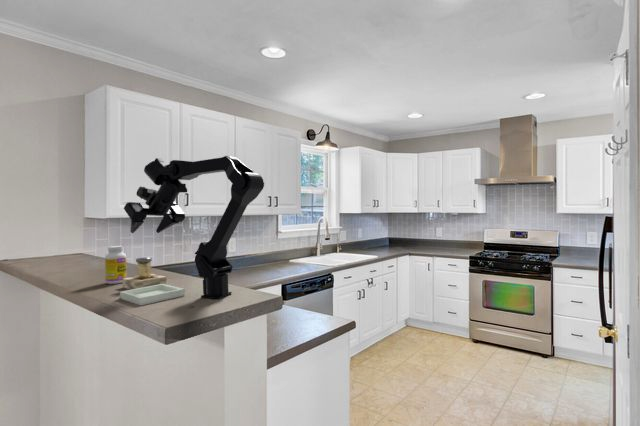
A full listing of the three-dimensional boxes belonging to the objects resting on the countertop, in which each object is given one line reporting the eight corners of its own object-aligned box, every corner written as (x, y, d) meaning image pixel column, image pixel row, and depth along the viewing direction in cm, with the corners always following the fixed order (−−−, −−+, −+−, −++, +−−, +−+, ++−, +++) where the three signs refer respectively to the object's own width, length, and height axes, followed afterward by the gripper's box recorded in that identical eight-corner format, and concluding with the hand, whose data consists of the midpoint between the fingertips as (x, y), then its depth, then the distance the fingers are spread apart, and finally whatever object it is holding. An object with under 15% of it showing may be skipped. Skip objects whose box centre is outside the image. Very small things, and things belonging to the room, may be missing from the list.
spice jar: (156, 285, 127) (154, 257, 127) (144, 288, 123) (143, 259, 122) (145, 284, 129) (143, 257, 129) (133, 287, 124) (132, 259, 124)
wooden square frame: (166, 285, 126) (166, 276, 126) (136, 291, 119) (136, 281, 119) (152, 282, 133) (152, 273, 133) (123, 287, 125) (122, 278, 125)
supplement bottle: (118, 284, 130) (116, 247, 130) (101, 284, 132) (100, 247, 131) (131, 280, 137) (130, 245, 136) (115, 280, 138) (114, 245, 138)
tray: (184, 295, 111) (184, 288, 111) (140, 305, 101) (140, 298, 101) (163, 290, 120) (162, 283, 120) (120, 298, 110) (119, 291, 110)
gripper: (178, 182, 128) (158, 216, 133) (127, 175, 112) (105, 214, 117) (195, 203, 124) (173, 238, 129) (144, 199, 108) (121, 239, 112)
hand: (144, 232), depth 122 cm, fingers open, 9 cm apart
